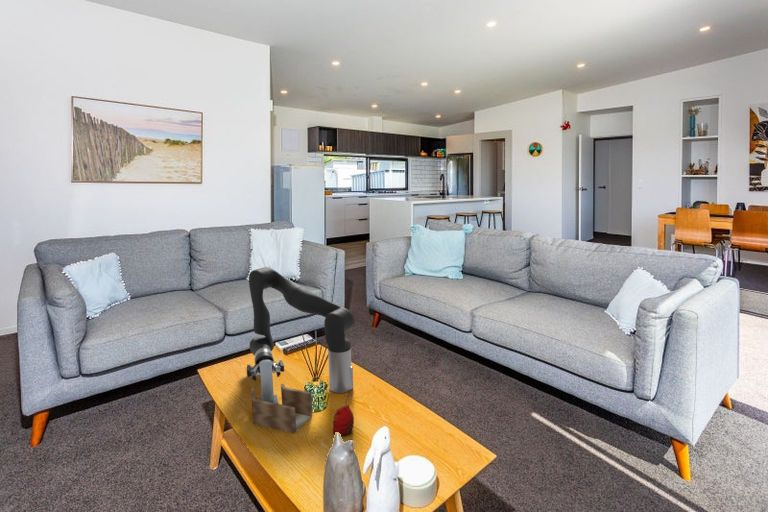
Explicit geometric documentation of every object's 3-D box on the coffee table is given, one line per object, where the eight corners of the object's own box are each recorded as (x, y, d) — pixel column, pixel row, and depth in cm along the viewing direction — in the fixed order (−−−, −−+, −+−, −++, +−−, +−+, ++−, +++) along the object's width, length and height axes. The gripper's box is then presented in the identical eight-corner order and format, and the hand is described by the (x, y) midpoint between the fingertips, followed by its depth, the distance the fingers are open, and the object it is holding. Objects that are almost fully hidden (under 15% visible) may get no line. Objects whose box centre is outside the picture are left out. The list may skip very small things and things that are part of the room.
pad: (276, 395, 166) (276, 394, 166) (278, 404, 160) (278, 403, 160) (258, 398, 164) (258, 398, 164) (259, 407, 157) (259, 406, 157)
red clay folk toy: (343, 422, 147) (342, 383, 144) (358, 429, 143) (357, 389, 141) (328, 433, 141) (327, 392, 138) (344, 440, 137) (343, 398, 134)
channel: (307, 401, 162) (306, 379, 160) (316, 429, 144) (315, 405, 142) (252, 411, 155) (251, 388, 154) (254, 441, 137) (252, 416, 135)
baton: (273, 396, 165) (271, 358, 162) (274, 402, 160) (271, 363, 157) (262, 398, 163) (259, 360, 160) (262, 404, 159) (259, 365, 156)
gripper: (245, 353, 171) (246, 370, 156) (280, 348, 176) (285, 364, 161) (246, 370, 173) (247, 388, 158) (281, 365, 177) (286, 382, 162)
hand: (266, 376), depth 159 cm, fingers open, 8 cm apart
